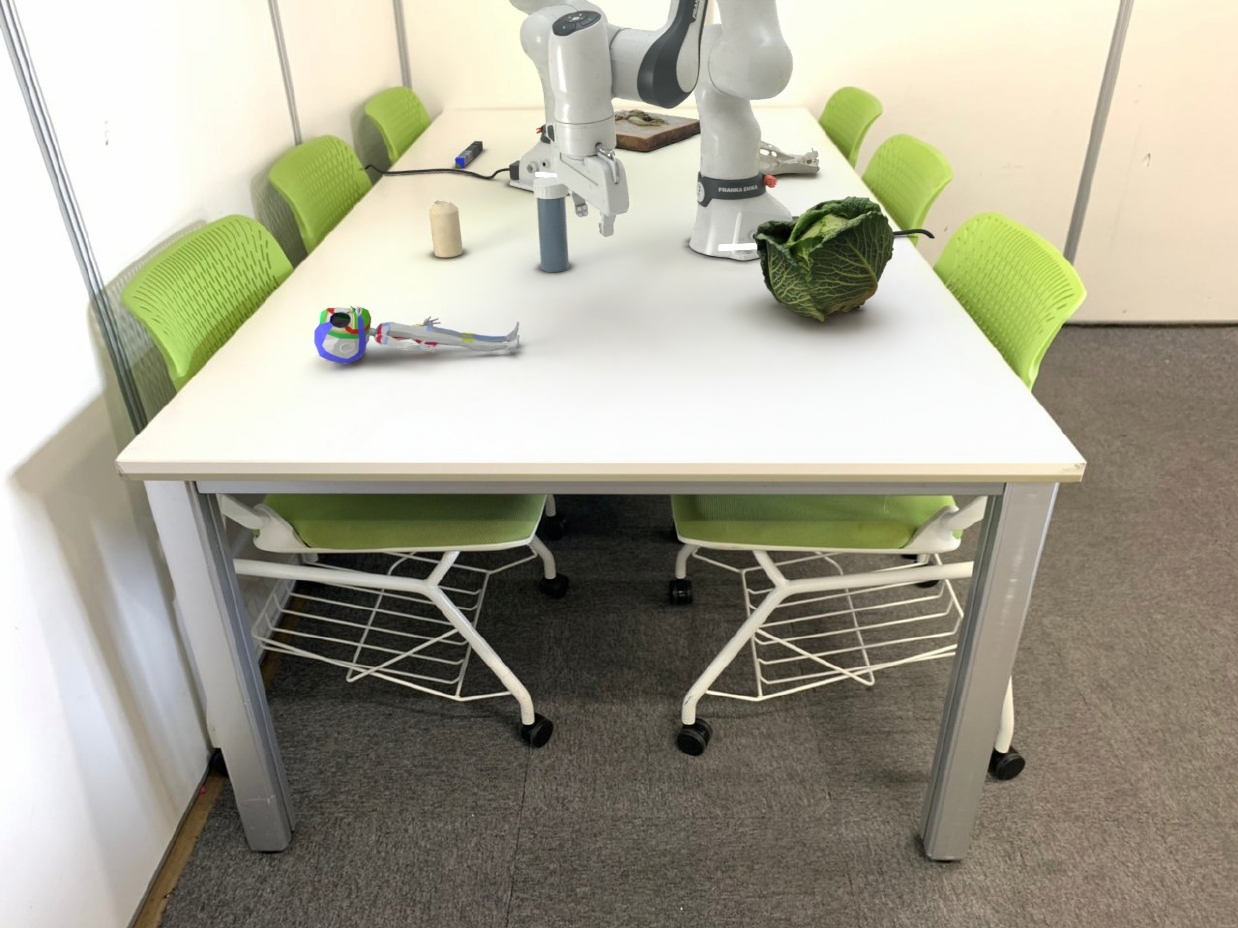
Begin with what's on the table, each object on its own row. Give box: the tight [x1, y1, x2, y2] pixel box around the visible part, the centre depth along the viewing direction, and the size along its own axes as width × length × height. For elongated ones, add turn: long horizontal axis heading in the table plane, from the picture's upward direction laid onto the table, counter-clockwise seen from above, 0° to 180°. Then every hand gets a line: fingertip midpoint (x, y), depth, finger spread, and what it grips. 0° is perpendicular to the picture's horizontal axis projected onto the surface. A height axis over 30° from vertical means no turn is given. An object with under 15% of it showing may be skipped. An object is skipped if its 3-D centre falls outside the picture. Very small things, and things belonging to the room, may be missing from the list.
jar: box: [536, 196, 570, 273], centre depth 164 cm, size 5×5×16 cm
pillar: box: [454, 140, 484, 169], centre depth 238 cm, size 2×2×20 cm
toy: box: [312, 305, 520, 365], centre depth 135 cm, size 10×8×30 cm
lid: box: [532, 177, 568, 199], centre depth 160 cm, size 6×6×2 cm
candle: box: [428, 200, 464, 258], centre depth 172 cm, size 6×6×10 cm
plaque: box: [614, 108, 701, 152], centre depth 257 cm, size 30×7×30 cm
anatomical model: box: [759, 140, 821, 176], centre depth 220 cm, size 15×9×25 cm
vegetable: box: [754, 195, 896, 323], centre depth 144 cm, size 20×19×20 cm
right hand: (593, 224), depth 141 cm, fingers open, 8 cm apart
